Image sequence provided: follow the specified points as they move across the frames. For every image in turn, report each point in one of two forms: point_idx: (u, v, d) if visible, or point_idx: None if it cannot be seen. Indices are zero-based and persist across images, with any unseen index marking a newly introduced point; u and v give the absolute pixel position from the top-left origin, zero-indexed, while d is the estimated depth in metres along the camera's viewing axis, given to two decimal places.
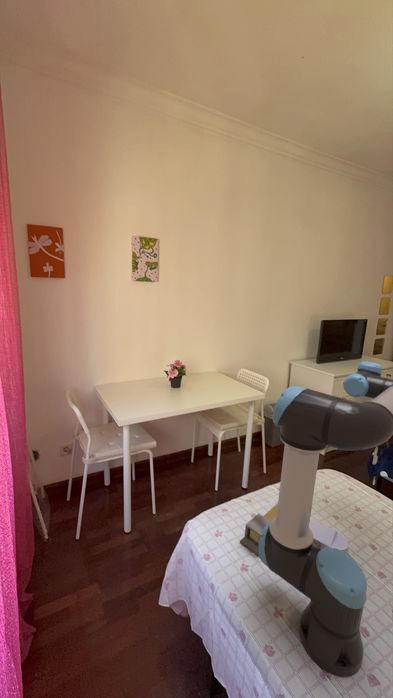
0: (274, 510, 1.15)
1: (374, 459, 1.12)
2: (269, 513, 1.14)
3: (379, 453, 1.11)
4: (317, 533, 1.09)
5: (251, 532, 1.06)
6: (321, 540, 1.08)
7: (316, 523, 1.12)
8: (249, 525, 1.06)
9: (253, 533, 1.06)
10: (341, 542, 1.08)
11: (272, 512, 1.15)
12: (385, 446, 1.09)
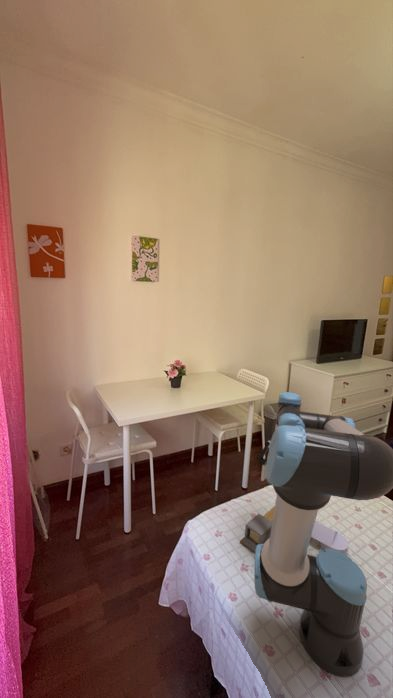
0: None
1: None
2: (269, 513, 1.14)
3: None
4: (317, 533, 1.09)
5: (251, 532, 1.06)
6: (321, 540, 1.08)
7: (316, 523, 1.12)
8: (249, 525, 1.06)
9: (253, 533, 1.06)
10: (341, 542, 1.08)
11: (272, 512, 1.15)
12: None
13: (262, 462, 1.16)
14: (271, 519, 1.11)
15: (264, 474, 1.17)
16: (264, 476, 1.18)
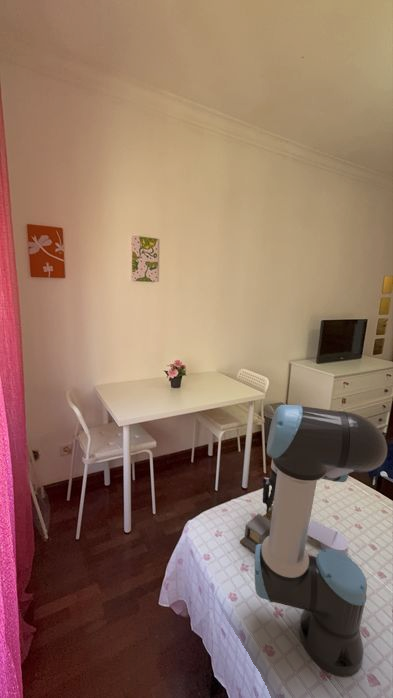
0: None
1: None
2: (269, 513, 1.14)
3: None
4: (317, 533, 1.09)
5: (251, 532, 1.06)
6: (321, 540, 1.08)
7: (316, 523, 1.12)
8: (249, 525, 1.06)
9: (253, 533, 1.06)
10: (341, 542, 1.08)
11: None
12: None
13: (268, 504, 1.16)
14: None
15: None
16: None
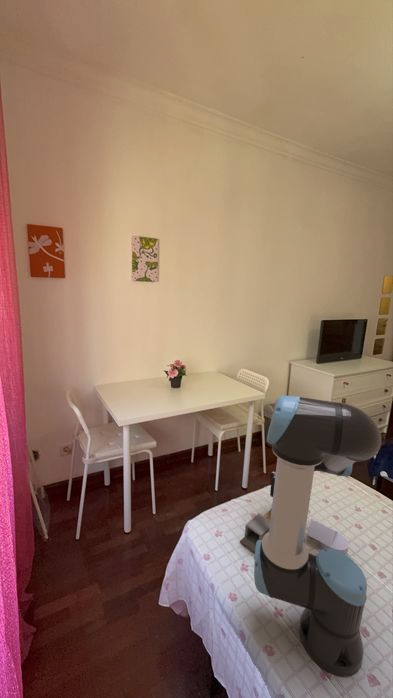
0: None
1: None
2: None
3: None
4: (317, 533, 1.09)
5: None
6: (321, 540, 1.08)
7: (316, 523, 1.12)
8: (249, 525, 1.06)
9: None
10: (341, 542, 1.07)
11: None
12: None
13: None
14: None
15: None
16: None
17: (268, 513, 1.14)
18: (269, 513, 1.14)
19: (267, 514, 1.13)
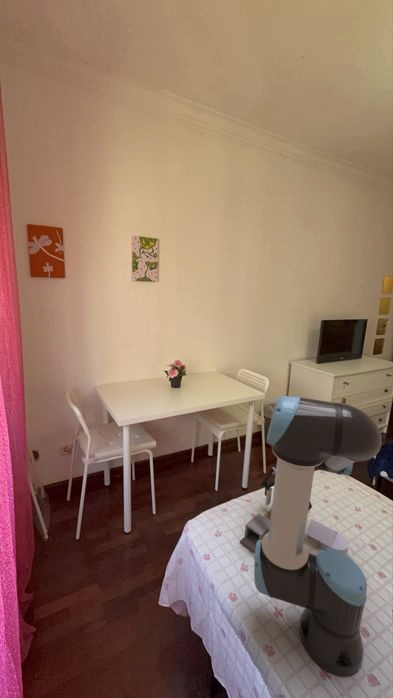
0: None
1: None
2: None
3: None
4: (317, 533, 1.09)
5: None
6: (321, 540, 1.08)
7: (316, 523, 1.12)
8: (249, 525, 1.06)
9: None
10: (341, 542, 1.07)
11: None
12: None
13: (267, 487, 1.23)
14: None
15: (268, 499, 1.24)
16: (268, 501, 1.24)
17: (268, 513, 1.14)
18: (269, 513, 1.14)
19: (267, 514, 1.13)
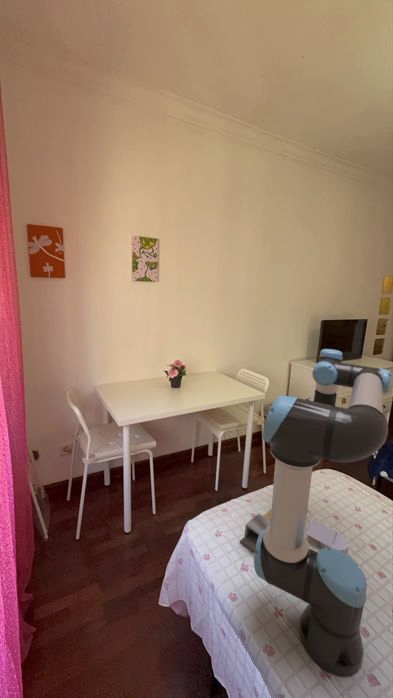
0: None
1: None
2: None
3: None
4: (317, 533, 1.10)
5: None
6: (321, 540, 1.08)
7: (316, 523, 1.12)
8: (249, 525, 1.06)
9: None
10: (341, 542, 1.07)
11: None
12: None
13: None
14: None
15: None
16: None
17: (268, 513, 1.14)
18: (269, 513, 1.14)
19: (267, 514, 1.13)
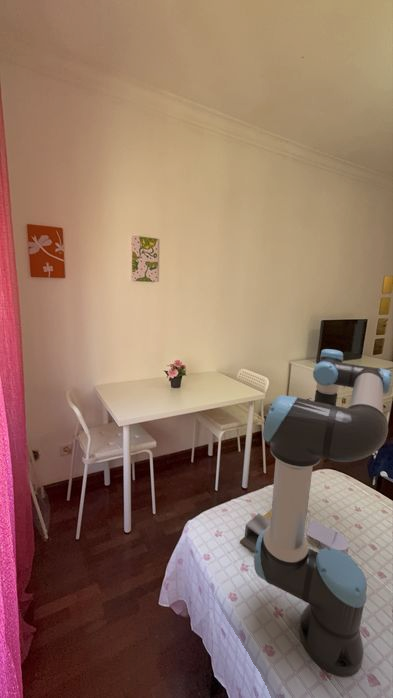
0: None
1: None
2: None
3: None
4: (317, 533, 1.09)
5: None
6: (321, 540, 1.08)
7: (316, 523, 1.12)
8: (249, 525, 1.06)
9: None
10: (341, 542, 1.07)
11: None
12: None
13: None
14: None
15: None
16: None
17: (268, 513, 1.14)
18: (269, 513, 1.14)
19: (267, 514, 1.13)
